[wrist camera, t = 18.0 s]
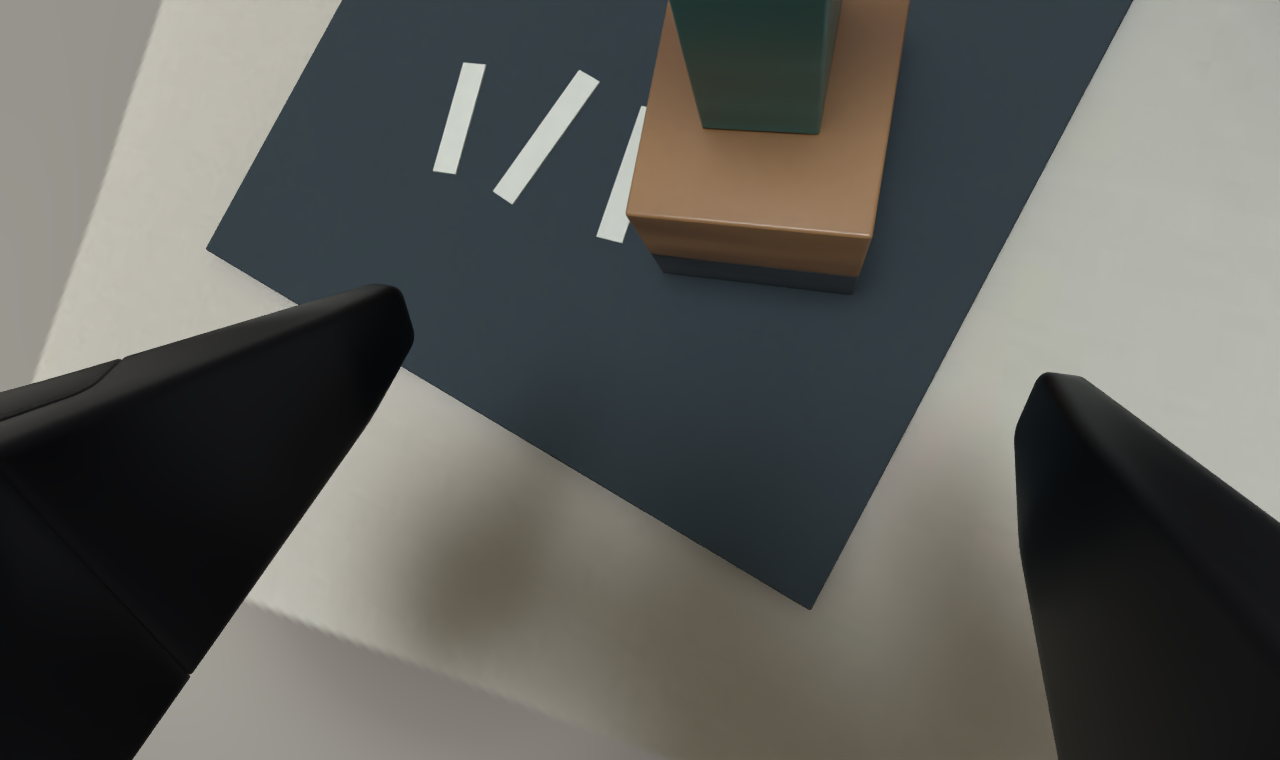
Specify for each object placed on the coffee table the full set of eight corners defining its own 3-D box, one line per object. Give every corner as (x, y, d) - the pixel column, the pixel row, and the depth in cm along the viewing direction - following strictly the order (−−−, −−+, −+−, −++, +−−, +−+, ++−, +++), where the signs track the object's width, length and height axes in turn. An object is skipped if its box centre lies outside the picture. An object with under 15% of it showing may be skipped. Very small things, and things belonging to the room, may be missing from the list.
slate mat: (810, 607, 15) (810, 611, 15) (215, 253, 21) (202, 248, 21) (1148, -33, 16) (1158, -47, 15) (466, -204, 22) (459, -219, 21)
